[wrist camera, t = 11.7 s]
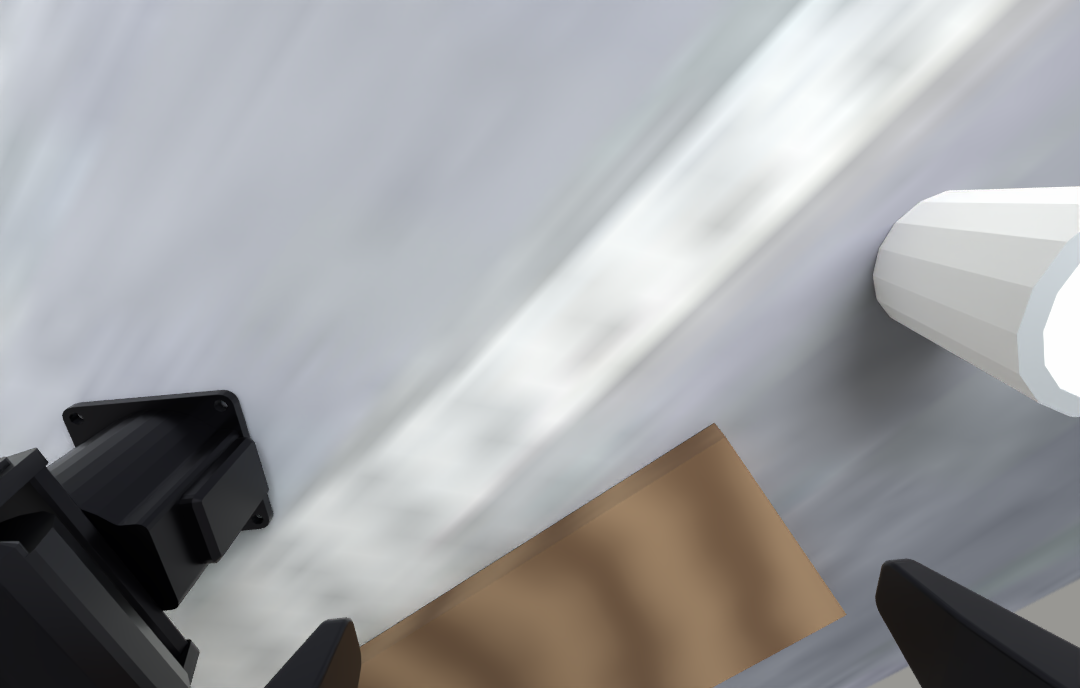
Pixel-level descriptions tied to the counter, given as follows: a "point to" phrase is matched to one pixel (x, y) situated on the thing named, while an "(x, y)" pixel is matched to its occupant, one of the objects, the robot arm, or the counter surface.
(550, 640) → the serving board
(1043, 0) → the counter surface
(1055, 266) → the white cup
